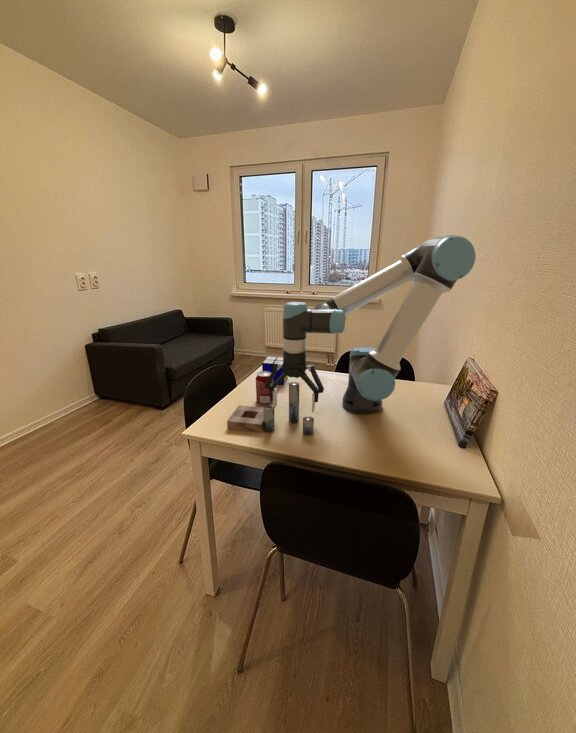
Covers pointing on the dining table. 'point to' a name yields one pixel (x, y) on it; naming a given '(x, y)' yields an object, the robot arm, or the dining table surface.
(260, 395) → the soda can
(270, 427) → the medium pin
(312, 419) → the short pin
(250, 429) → the hole block
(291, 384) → the long pin
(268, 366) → the puzzle cube
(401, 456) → the dining table surface
